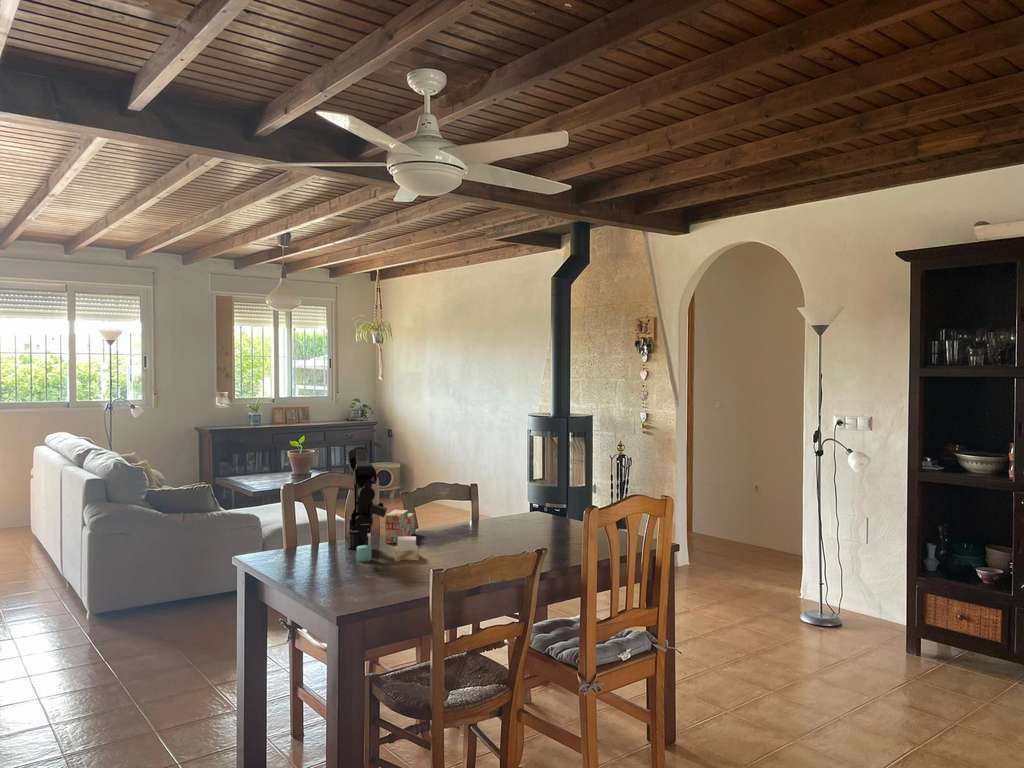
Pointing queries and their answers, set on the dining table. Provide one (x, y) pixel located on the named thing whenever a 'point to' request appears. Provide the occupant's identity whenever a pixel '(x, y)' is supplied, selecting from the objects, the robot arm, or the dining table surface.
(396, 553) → the oak base slab
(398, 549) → the white upper slab
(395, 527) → the beige printed box
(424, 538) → the dining table surface
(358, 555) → the seafoam tapered dome
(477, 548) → the dining table surface
